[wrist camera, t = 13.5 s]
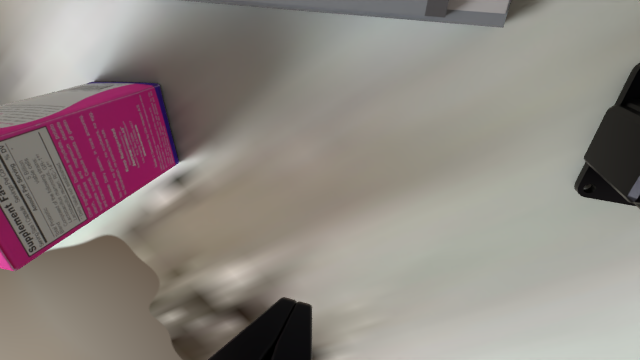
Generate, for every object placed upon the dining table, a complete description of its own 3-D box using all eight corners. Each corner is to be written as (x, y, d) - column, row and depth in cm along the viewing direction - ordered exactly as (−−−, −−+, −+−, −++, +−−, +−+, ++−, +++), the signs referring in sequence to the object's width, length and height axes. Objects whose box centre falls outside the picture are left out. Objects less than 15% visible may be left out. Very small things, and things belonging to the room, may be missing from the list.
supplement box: (118, 160, 25) (-79, 256, 15) (91, 80, 22) (-169, 134, 13) (183, 166, 24) (11, 277, 14) (162, 81, 21) (-70, 144, 11)
